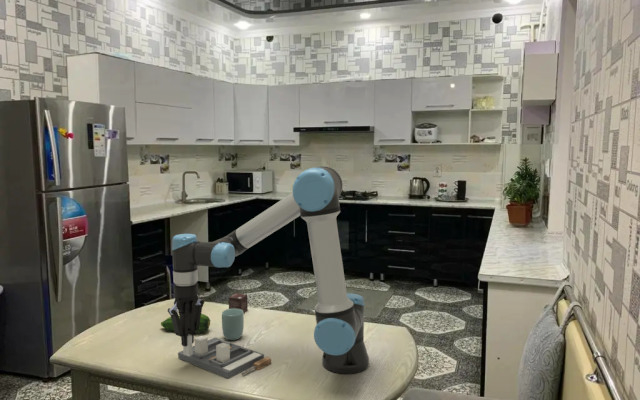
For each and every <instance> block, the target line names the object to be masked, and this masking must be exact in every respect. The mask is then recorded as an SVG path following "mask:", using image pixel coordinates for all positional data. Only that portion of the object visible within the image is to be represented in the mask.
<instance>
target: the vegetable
mask: <svg viewBox="0 0 640 400" xmlns="http://www.w3.org/2000/svg"><path fill="white" fill-rule="evenodd" d="M179 319H180V315H179ZM210 325H211V320H210V317H209V316H208V315H207V314H203V313H201V318H200V325H199V330H198V331H195V332H196V334H204V333H205V332H207V331H208V330H210V329H209V328H210ZM160 326H161V327H162V328H164V330H166V331H168V332H175V330H174V327H173V323H172V319H171V316H169V317H167V318H166V319H165V320H163V321H162V322H160ZM195 326H196V325H195Z"/></svg>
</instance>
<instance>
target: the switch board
mask: <svg viewBox="0 0 640 400" xmlns="http://www.w3.org/2000/svg"><path fill="white" fill-rule="evenodd" d="M221 343H226V344H229V345H230V360H228V361H226V362H224V363H222V362H219V361H216V345H218V344H221ZM192 350H193V355H191V356H187V355H184V354H183V350H181V351H179V352H178V353H177V357H178V359H179V360H181V361H183V362H186V363H187V364H188V363H189V364H191V365H193V366H196V367H198V368H201V369H203V370H206V371H208V372H211V373H213V374H215V375H218V376H220V377H223V378H224V379H225V378H226V379H228V380H229V379H230V378H232V377H234V376H236V375H238V374H240V373H243V372H245V371H247V370H249V369H251V368H253V367H254V363H255V362H257V361H259V360H261V359H263V358H265V354H263V353H261V352H258V351H254V350H252V349H249V348H247V347H243V346H241V345H238V344H234V343H232V342H229V341H226V340H223V339H221V338H218V337H212V338H210V339H208V352H207V353H205V354H203V355H199V354H197V353H195V345H194V346H193V345H192Z"/></svg>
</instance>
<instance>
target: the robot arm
mask: <svg viewBox="0 0 640 400" xmlns="http://www.w3.org/2000/svg"><path fill="white" fill-rule="evenodd" d="M342 191H343V180H342V178H341V175H340V174H339V173H338V172H337V170H335V169H333V168H331V167H329V166H317V167H311V168H307V169H305V170H303V171H302V172H301V173H300V174H298V176H297V177H296V178H295V179H294V182H293V184H292V192H291V193H289V194H288V195H286V196H285V197H284V198H282V199H280V200H279V201H277V202H276V203H275V204H273V205H272V206H270V207H267V209H265V210H264V211H262V212H261V213H259V214H258V215H256V216H254V218H251V219H250V220H249V221H247V222H245V223H244V224H242V225H241V226H239V227H238V228H237V229H234V230H233V231H231V232H230V233H228V234H227V235H226V236H223V237H221V238H219V239H216V240H214V241H198V237H197V235H196V234H195V233H181V234H175V235H174V236H173V237H172V240H171V241H172V244H171V251H172V252H171V253H172V269H173V270H172V277H173V279H172V280H173V296H174V301H173V306H172V307H170V308H168V309H167V312H168V314H169V315H170V317H171V319H172V323H173V327H174V330H175V331H174V334H175V335H176V336H178V337H180V339H181V340H180V341H181V343H180V344H181V346H182V351H183V354H184V355H187V356H191V355H193V350H192V347H193V344H195V342H194V339H195V338H194V336H195V335H196V334H197V333H196V332H195V331H198V330H199V325H200V318H201V314H202V311H203V307H204V304H205V300H204V299H200V298H199V295H198V294H199V283H198V281H199V275H198V274H199V272H198V270H199V269H198V266H199V267H211V268H219V269H220V268H230V267H231V266H232V265H233V263H234V261H235V259H236V258H235V257H239V255H242V254H243V253H244V252H246V250H248V249H249V248H251V247H253V246H254V245H256V244H258V243H259V242H261V241H263V240H264V239H265V238H267V237H268V236H270V235H272V234H273V233H274V232H277V231H279V230H280V229H281V228H283V227H284V226H286V225H288V224H289V223H290V222H292V221H294V220H295V219H297V218H299V217H300V218H301V219H302V220H304V221H305V222H306V225H307V232H308V239H309V245H310V254H311V258H312V265H313V266H312V267H313V273H314V282H315V287H316V288H315V289H316V293H317V294H316V295H317V300H318V302H317V303H316V305H315V306H314V308H313V309H314V315H315V322H316V326H314V330H313V338H314V342H315V344H316V346H317V347H318V349H320V350H321V351H322V352H323V354H322V356H321V357H322V362H321V363H322V366H323V367H324V368H325V369H326V370H328V371H330V372H332V373H336V374H340V375H341V374H344V375H350V374H357V373H361V372H363V371H365V370H367V368H368V367H369V366H368V365H369V364H370V360H369V359H370V357H369V354H368V351H367V348H366V345H365V341H364V335H365V334H364V333H365V331H364V328H365V325H364V324H365V306H366V305H365V300H364V297H363V296H361V295H360V294H357V293H350V292H349V293H348V292H347V287H346V286H347V285H346V277H345V273H344V264H343V256H342V252H341V251H342V250H341V245H340V244H341V243H340V237H339V230H338V223H337V222H338V221H337V216H338V215H339V214H340V213H341V207H340V206H341V205H340V200H339V197H340V196H341V194H342ZM179 316H180V319H179ZM195 325H196V326H195Z"/></svg>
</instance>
